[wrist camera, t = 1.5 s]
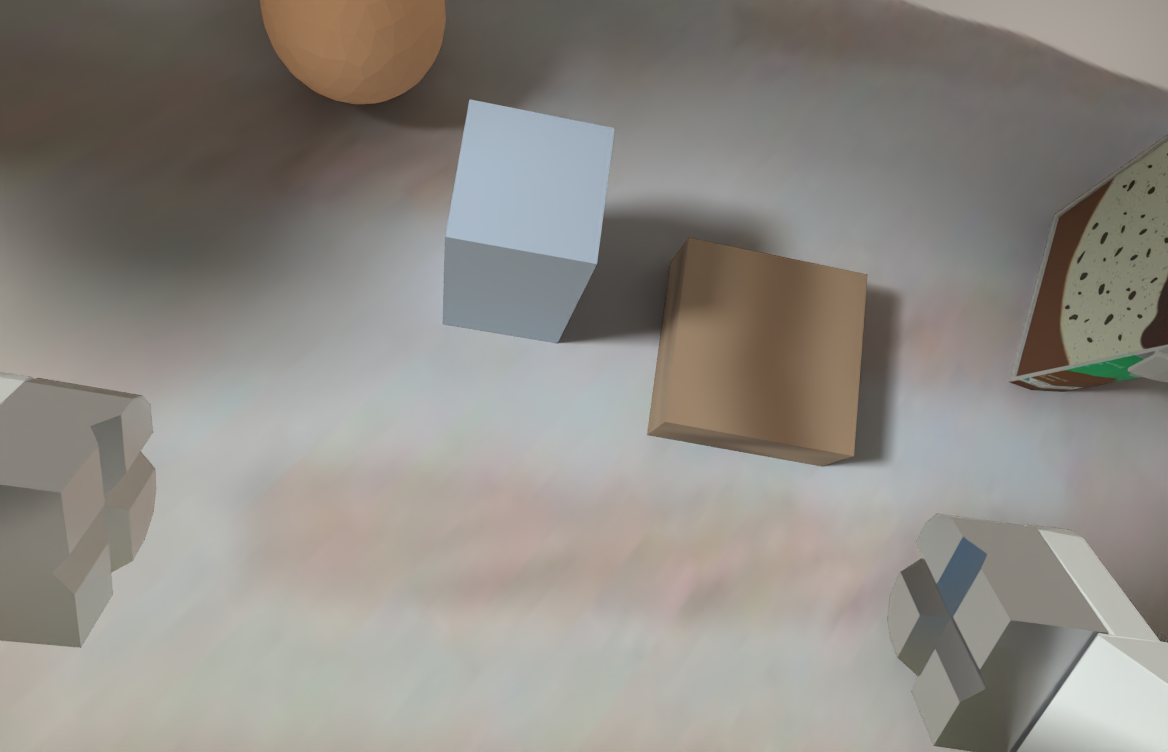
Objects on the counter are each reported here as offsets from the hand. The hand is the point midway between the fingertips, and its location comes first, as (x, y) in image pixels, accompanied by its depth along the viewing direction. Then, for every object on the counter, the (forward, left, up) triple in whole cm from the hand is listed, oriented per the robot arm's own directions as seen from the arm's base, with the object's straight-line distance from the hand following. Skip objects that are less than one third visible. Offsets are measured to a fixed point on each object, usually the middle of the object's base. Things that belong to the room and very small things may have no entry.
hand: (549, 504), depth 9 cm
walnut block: (+11, +10, -28) cm, 32 cm away
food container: (+28, +15, -28) cm, 43 cm away
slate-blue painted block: (0, +12, -28) cm, 31 cm away
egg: (-8, +21, -28) cm, 36 cm away
